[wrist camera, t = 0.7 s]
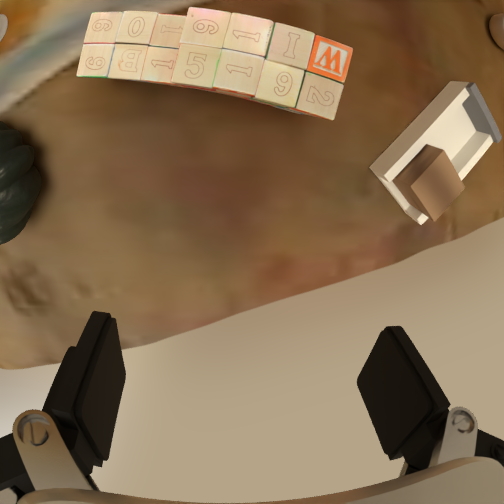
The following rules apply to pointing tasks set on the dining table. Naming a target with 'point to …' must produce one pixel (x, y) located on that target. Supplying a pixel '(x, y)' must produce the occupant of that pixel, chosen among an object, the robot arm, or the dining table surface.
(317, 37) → the stack of blocks
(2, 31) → the chalice
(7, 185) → the squash
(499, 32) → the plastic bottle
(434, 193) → the walnut block
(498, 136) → the chute
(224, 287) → the dining table surface
